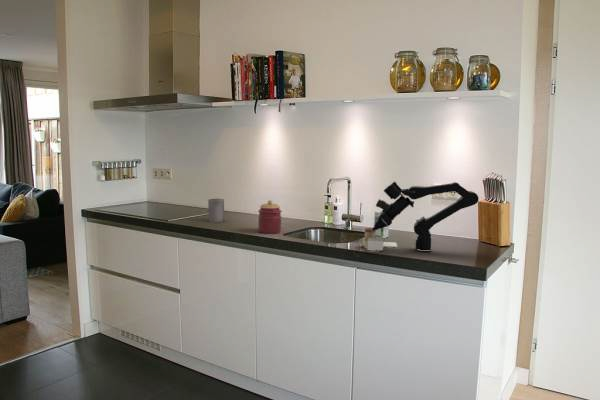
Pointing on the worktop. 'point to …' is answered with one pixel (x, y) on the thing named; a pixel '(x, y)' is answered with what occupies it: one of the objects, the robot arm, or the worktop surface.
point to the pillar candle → (216, 210)
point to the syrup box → (382, 231)
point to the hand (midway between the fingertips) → (373, 228)
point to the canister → (269, 218)
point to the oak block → (368, 235)
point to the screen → (375, 244)
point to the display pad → (389, 244)
